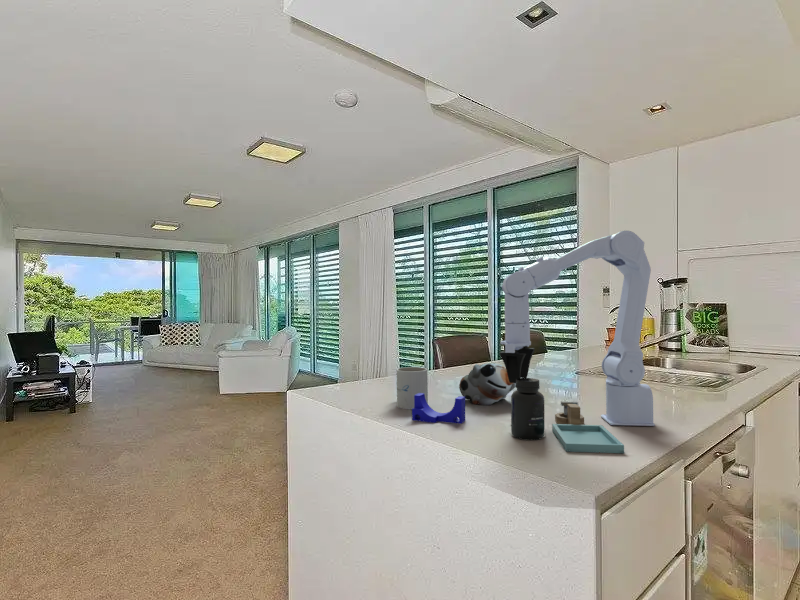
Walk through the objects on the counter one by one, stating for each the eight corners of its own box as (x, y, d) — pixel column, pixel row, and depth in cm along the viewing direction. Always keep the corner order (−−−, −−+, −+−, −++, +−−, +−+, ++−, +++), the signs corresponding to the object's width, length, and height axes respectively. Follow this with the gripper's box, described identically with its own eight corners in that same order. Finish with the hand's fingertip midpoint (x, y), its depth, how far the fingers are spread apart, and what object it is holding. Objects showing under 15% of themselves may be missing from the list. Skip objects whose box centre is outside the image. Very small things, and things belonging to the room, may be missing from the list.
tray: (602, 432, 97) (602, 425, 97) (624, 453, 83) (624, 445, 83) (552, 430, 98) (552, 423, 98) (565, 451, 85) (565, 443, 85)
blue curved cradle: (412, 421, 109) (411, 396, 109) (419, 416, 113) (418, 392, 113) (459, 426, 104) (459, 400, 104) (465, 421, 108) (465, 396, 108)
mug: (432, 407, 122) (432, 370, 122) (402, 410, 119) (402, 372, 119) (417, 398, 133) (416, 364, 133) (389, 400, 131) (388, 366, 131)
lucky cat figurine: (503, 395, 136) (520, 357, 130) (508, 420, 125) (527, 380, 119) (456, 381, 135) (471, 343, 130) (457, 405, 124) (473, 364, 119)
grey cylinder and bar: (576, 421, 106) (575, 401, 106) (578, 424, 103) (578, 403, 103) (560, 421, 106) (560, 400, 106) (562, 423, 104) (562, 403, 104)
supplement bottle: (540, 443, 90) (539, 383, 90) (507, 437, 94) (506, 380, 94) (548, 434, 96) (547, 378, 96) (517, 429, 100) (516, 375, 100)
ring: (553, 418, 108) (553, 398, 108) (579, 419, 107) (579, 398, 107) (561, 429, 99) (561, 407, 99) (590, 430, 98) (589, 407, 98)
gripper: (508, 321, 115) (509, 374, 115) (491, 324, 102) (492, 384, 102) (536, 321, 112) (538, 376, 112) (522, 324, 99) (524, 386, 99)
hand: (518, 380), depth 107 cm, fingers open, 7 cm apart
